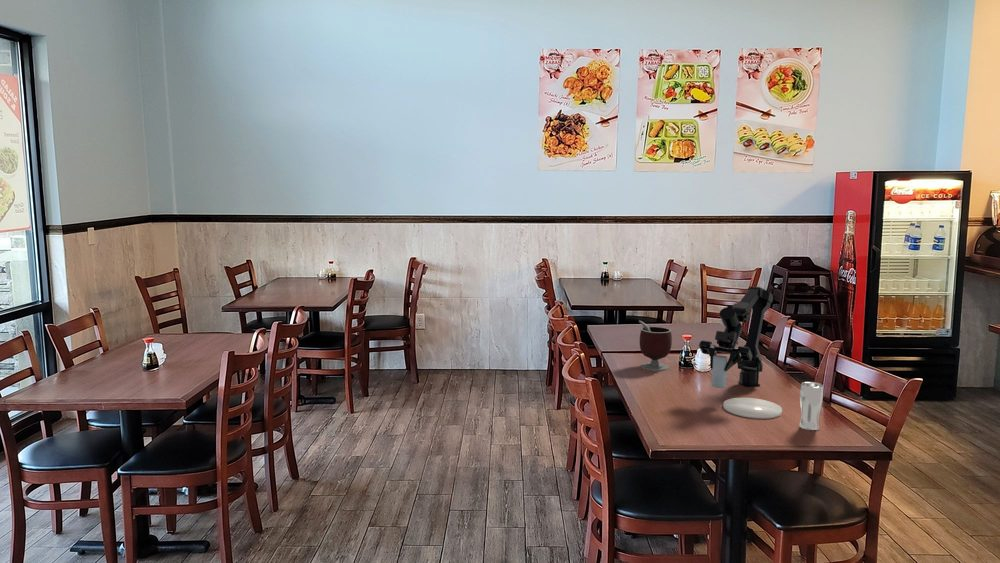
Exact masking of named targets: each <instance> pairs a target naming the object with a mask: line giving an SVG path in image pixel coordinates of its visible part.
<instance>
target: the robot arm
mask: <svg viewBox="0 0 1000 563" xmlns="http://www.w3.org/2000/svg"><path fill="white" fill-rule="evenodd" d="M773 301H774V294H772V292H771V291H769V290H766V289H765V288H763V287H761V286H752V285H751V286H749V287H748V288H747V291H746V293H745V294H744V295H743V297H742V298H741V300H740V301H739V302H737V303H733V304H731V305H729V304H727V306H726V307H724V308H722V309H721V310H720V311H719V318H720V320H721V322H722V325H723V326H724V329H723V331H720V330H716V333H715V335H714V340H716V345H715V344H713V343H712V341H710V340H703V339H702V340H701V341H699V344H698V347H699V349H700V351H701V353H702V354H703V355H707V356H709V358H710V359H709V360H710V369H711V370H712V369H713V356H716V355H717V352H719V353H723V354H724V353H725V354H729V357H728V359H727V364H726V367H725V371H727V372H728V371H729V370H730V369H731V368H732V367H733V366H735V365H736V364H737V369H738V370H740V372H739V380H737V381H738V383H739V384H741V385H743V386H744V387H760V386H761V384H760V383H759V379H760V373H762V372H763V369H764V364H763V362H762V359H761V352H760V350H759V349H760V348H759V342H760V337H761V332H762V328H763V321H764V316H765V314H766V312H767V311H768V310H769V309H771V308H770V307H771V305H772V303H773ZM751 309H752V311H751ZM751 312H752V313H751ZM749 320H750V322H749V327H748V330H747V336H746V342H745V344H744V345H743V346H742V345H739V346H738V347H737V348H736V346H737V345H738V344H739V338H740V335H741V333H743V325H742V323H744V324H745V323H746V324H747V323H748V321H749Z"/></svg>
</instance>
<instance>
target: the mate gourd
mask: <svg viewBox="0 0 1000 563" xmlns="http://www.w3.org/2000/svg"><path fill="white" fill-rule="evenodd" d="M638 323H640V324H641V325H642V326H643V327H641V329H640V335H639V348H640V351H641V353H642V355H644V357H646V358H648V359H650V360H651V361H649V362H643V363H641V364H640V368H641V369H643V370H645V369H647V370H646V371H650V370H653V371H652V372H663V370H665V371H667V369H668V370H669V369H670V368H669V367H670V366H669V365H668V364H666V363H663V362H659V360H661V359H664V358H666V357H668V355H669V354H670V352H671V349H672V344H673V337H672V336H673V335H672V329H670V328H667V327H662V326H649V325H648V324H647V323H645V322H643V321H642V320H638Z"/></svg>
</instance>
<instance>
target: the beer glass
mask: <svg viewBox="0 0 1000 563" xmlns="http://www.w3.org/2000/svg"><path fill="white" fill-rule="evenodd" d="M823 398H824V385H823V384H822V383H819V382H815V381H803V382H801V386H800V391H799V404H800V406H799V407H800V414H801V416H800V417H801V418H800V421H799V426H798V427H799V428H800V427H801V428H800V429H802V430H806V431H810V430H812V431H813V430H816V431H818V430H819V429H820V425H819V417H820V412H821V409H822V405H823Z"/></svg>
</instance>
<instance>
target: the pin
mask: <svg viewBox="0 0 1000 563" xmlns="http://www.w3.org/2000/svg"><path fill="white" fill-rule="evenodd" d="M727 362H728V357H727V356H725V355H720V354H719V355H716V356H713V368H712V369H711V371H712V374H711V387H712V388H716V389H726V386H727V375H728V374H727V372H728V370H727V371H725V367H726V364H727Z"/></svg>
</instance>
